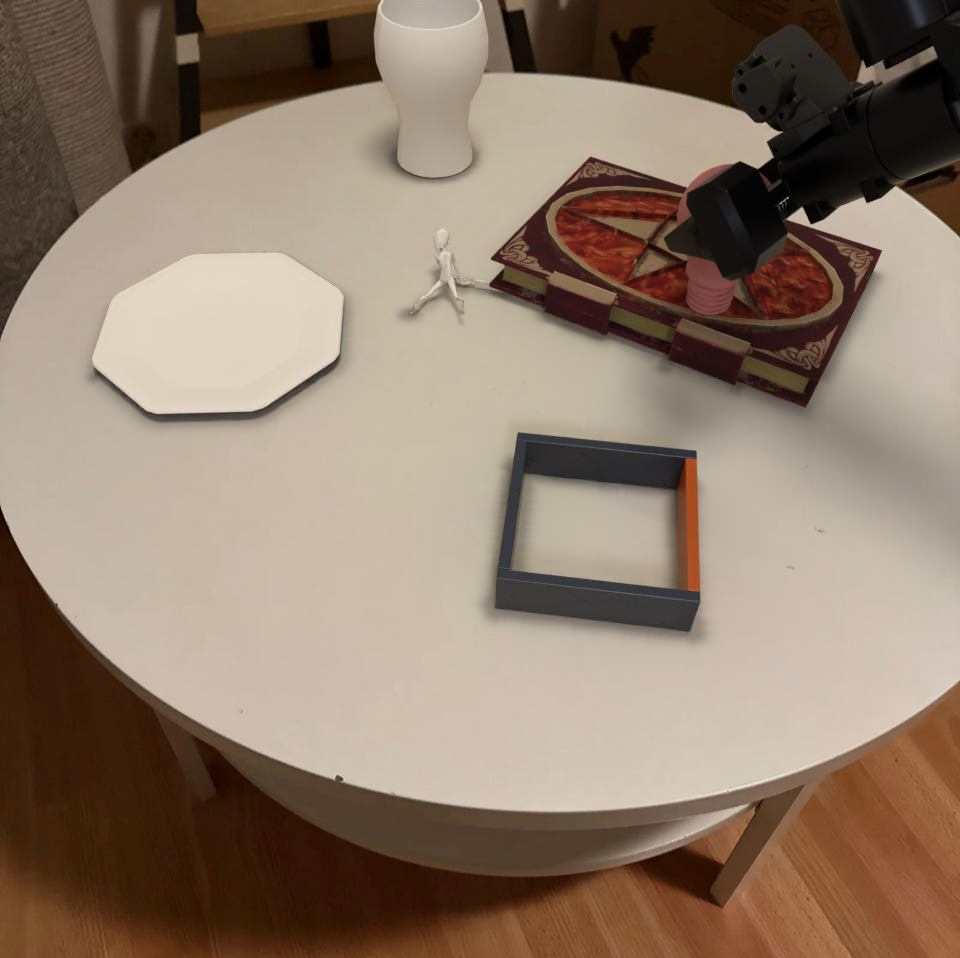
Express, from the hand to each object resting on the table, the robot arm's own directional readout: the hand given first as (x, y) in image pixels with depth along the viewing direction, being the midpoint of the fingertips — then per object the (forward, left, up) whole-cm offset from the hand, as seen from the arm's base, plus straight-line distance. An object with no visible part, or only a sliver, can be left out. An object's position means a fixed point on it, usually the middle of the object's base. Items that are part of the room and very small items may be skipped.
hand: (704, 216), depth 68 cm
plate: (+35, -14, -13) cm, 40 cm away
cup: (+9, -34, -12) cm, 37 cm away
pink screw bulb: (-1, +1, -8) cm, 8 cm away
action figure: (+13, -11, -12) cm, 21 cm away
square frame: (+15, +16, -12) cm, 25 cm away
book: (-4, -6, -12) cm, 14 cm away
